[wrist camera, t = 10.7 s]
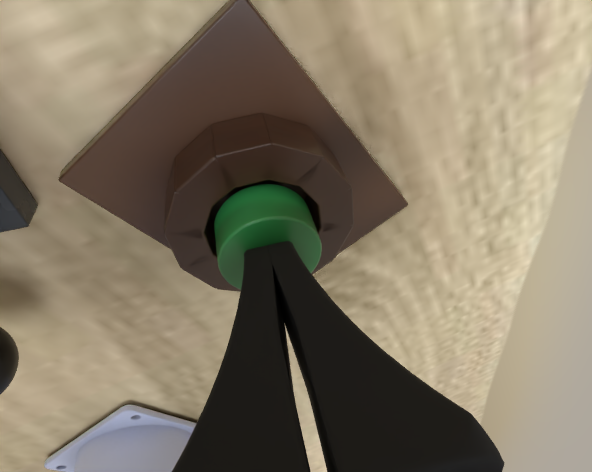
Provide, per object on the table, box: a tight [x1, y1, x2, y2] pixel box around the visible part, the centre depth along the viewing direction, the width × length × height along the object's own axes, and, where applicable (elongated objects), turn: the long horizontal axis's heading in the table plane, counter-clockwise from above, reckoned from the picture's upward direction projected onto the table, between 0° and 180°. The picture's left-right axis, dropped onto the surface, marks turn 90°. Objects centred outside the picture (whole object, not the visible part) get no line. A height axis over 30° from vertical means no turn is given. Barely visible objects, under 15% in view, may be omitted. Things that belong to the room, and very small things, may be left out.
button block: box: [59, 0, 408, 292], centre depth 14 cm, size 10×8×3 cm
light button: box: [214, 184, 322, 290], centre depth 13 cm, size 3×3×2 cm
